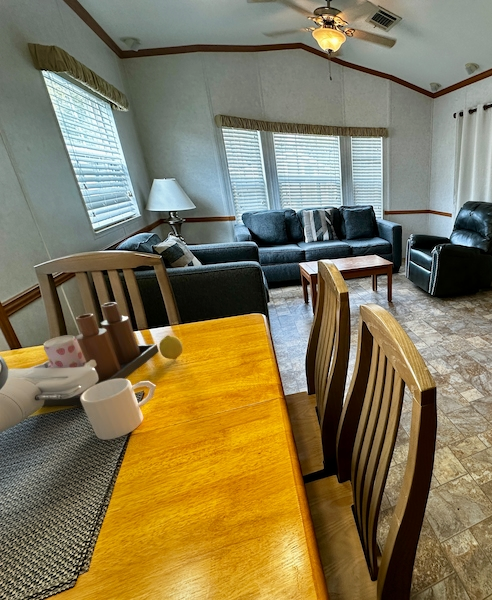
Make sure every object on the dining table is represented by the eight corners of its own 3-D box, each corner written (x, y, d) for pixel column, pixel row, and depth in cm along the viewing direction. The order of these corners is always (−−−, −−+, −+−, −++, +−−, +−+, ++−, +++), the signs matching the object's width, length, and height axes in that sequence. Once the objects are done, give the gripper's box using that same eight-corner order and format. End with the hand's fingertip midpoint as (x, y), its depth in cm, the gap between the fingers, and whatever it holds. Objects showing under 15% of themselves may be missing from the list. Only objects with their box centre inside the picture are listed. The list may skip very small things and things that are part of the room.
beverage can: (71, 403, 78) (46, 348, 73) (63, 395, 81) (38, 342, 76) (100, 390, 83) (79, 338, 77) (92, 383, 86) (70, 332, 80)
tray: (90, 406, 78) (86, 397, 77) (41, 407, 78) (36, 398, 77) (158, 351, 102) (156, 344, 101) (121, 352, 101) (118, 345, 100)
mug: (166, 418, 74) (154, 382, 71) (96, 446, 67) (79, 407, 63) (161, 401, 80) (149, 367, 76) (96, 424, 72) (80, 388, 69)
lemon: (189, 356, 99) (183, 333, 96) (171, 366, 94) (163, 341, 91) (178, 352, 101) (171, 329, 98) (159, 361, 96) (151, 337, 93)
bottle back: (112, 366, 94) (89, 309, 87) (121, 356, 99) (101, 301, 92) (136, 363, 95) (116, 306, 89) (144, 353, 101) (126, 299, 94)
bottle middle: (88, 383, 86) (62, 322, 80) (100, 371, 92) (76, 313, 85) (115, 379, 88) (92, 319, 81) (125, 367, 93) (104, 310, 87)
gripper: (59, 385, 66) (112, 350, 79) (-46, 388, 66) (24, 352, 78) (71, 410, 69) (120, 372, 82) (-31, 413, 68) (35, 374, 81)
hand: (73, 362), depth 80 cm, fingers open, 8 cm apart
